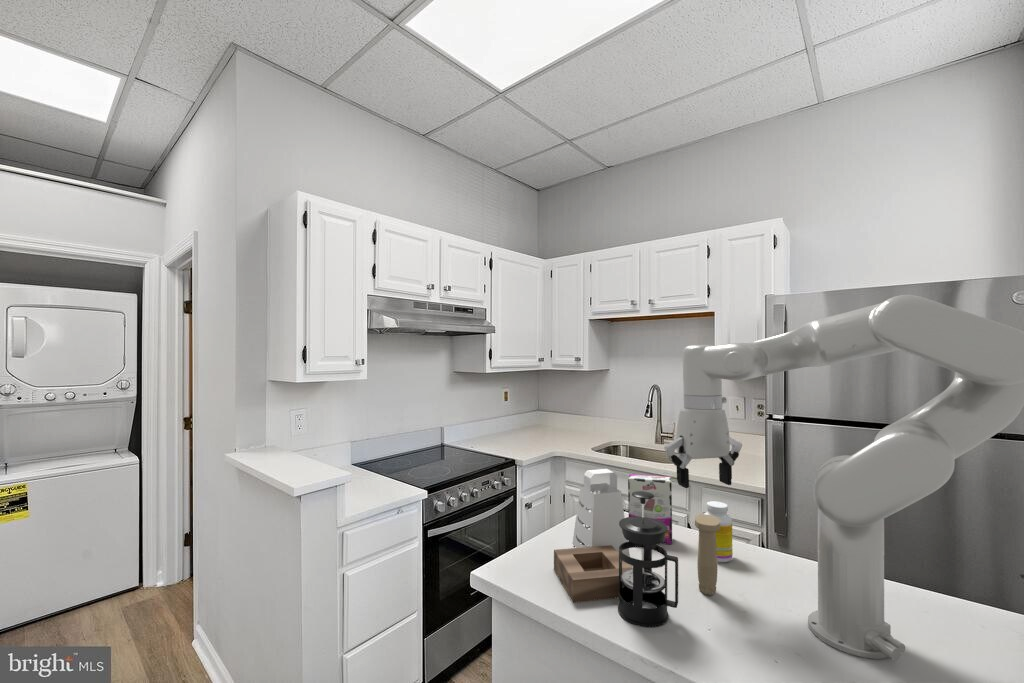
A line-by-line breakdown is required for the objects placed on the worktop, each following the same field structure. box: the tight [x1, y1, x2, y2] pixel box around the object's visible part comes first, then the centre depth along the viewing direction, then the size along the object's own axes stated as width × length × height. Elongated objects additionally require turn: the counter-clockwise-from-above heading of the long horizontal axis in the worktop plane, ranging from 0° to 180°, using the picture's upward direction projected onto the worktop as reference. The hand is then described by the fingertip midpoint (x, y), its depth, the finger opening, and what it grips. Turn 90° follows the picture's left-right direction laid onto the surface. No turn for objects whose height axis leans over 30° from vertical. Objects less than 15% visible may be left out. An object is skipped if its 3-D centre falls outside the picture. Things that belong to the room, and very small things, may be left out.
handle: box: [694, 513, 720, 596], centre depth 97 cm, size 5×6×15 cm
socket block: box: [553, 545, 633, 604], centre depth 100 cm, size 14×14×4 cm
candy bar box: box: [627, 473, 673, 545], centre depth 123 cm, size 11×5×16 cm, turn 73°
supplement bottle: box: [703, 500, 734, 563], centre depth 113 cm, size 7×7×13 cm
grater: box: [571, 468, 631, 557], centre depth 116 cm, size 10×10×20 cm
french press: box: [617, 491, 679, 628], centre depth 89 cm, size 12×9×23 cm
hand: (704, 484), depth 97 cm, fingers open, 9 cm apart
